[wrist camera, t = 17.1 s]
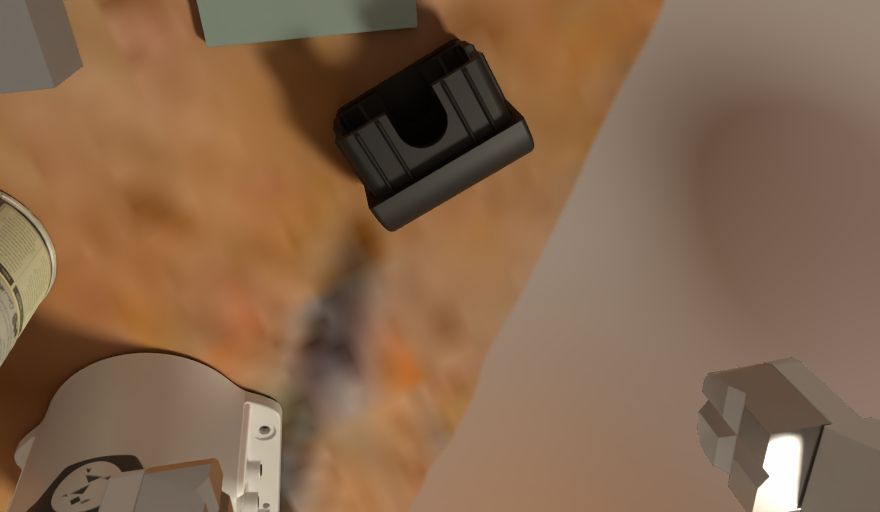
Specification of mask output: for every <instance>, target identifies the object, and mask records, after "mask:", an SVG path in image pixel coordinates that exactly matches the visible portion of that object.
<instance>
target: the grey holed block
mask: <svg viewBox="0 0 880 512" xmlns="http://www.w3.org/2000/svg"><path fill="white" fill-rule="evenodd" d="M81 67H83V64H82V61H81V58H80V55H79V52H78V48H77V45H76V42H75V39H74V36H73V33H72V29H71V26H70V23H69V20H68V17H67V13H66V10H65V7H64V4H63V1H62V0H0V94H2V93H12V92H22V91H32V90H41V89H51V88H55V87H57V86H58V85H59V84H61V83H62V82H63V81H64V80H66V79H67V78H68V77H70V76H71V75H72V74H73V73H75V72H76V71H77V70H79V69H80V68H81Z"/></svg>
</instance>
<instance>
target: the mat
mask: <svg viewBox="0 0 880 512" xmlns="http://www.w3.org/2000/svg"><path fill="white" fill-rule="evenodd" d="M197 5H198V9H199V14H200V18H201V23H202V27H203V31H204V36H205V40H206V45H207V47H216V46H226V45H237V44H247V43H257V42H267V41H278V40H288V39H298V38H309V37H319V36H329V35H339V34H350V33H360V32H370V31H381V30H391V29H401V28H412V27H418V21H417V8H416V0H197Z"/></svg>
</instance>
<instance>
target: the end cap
mask: <svg viewBox="0 0 880 512" xmlns="http://www.w3.org/2000/svg"><path fill="white" fill-rule="evenodd" d="M333 130H334V132H335V133H336V138H335V144H336V145H337V146H338V148H339V149H340V151H341V152H342V154H343V155H344V157H345V158H346V160H347V161H348V163H349V164H350V166H351V167H352V169H353V170H354V172H355V173H356V175H357V176H358V178H359V179H360V181H361V182H362V184H363V185H364V187H365V192H366V197H367V201H368V206H369V209H370V210H371V212H372V213H373V214H374V216H375V217H376V218H377V220H378V221H379V222H380V223H381V224H382V226H383V227H384V228H386V229H387V230H388V231H391V232H393V231H396V230H398V229H399V228H401V227H403V226H404V225H406V224H408V223H410V222H411V221H413V220H415V219H416V218H418V217H420V216H422V215H423V214H425V213H427V212H428V211H430V210H432V209H433V208H435V207H437V206H439V205H440V204H442V203H444V202H445V201H447V200H449V199H451V198H452V197H454V196H456V195H457V194H459V193H461V192H463V191H464V190H466V189H468V188H469V187H471V186H473V185H475V184H476V183H478V182H480V181H481V180H483V179H485V178H487V177H488V176H490V175H492V174H493V173H495V172H497V171H499V170H500V169H502V168H504V167H505V166H507V165H509V164H511V163H512V162H514V161H516V160H517V159H519V158H521V157H523V156H524V155H526V154H528V153H529V152H531V151H532V150H533V149H534V141H533V138H532V135H531V133H530V130H529V128H528V126H527V123H526V121H525V119H524V117H523V116H522V115H521V114H520V113H519V112H518V111H517V110H516V109H515V108H514V107H513V106H512V105H511V104H510V103H509V102H508V101H507V100H506V99H505V97H504V95H503V93H502V91H501V89H500V87H499V85H498V83H497V81H496V79H495V77H494V75H493V73H492V71H491V69H490V67H489V65H488V63H487V61H486V59H485V57H484V55H483V53H481V52H478V51H476V49H475V47H474V45H472V44H469V43H467V42H466V41H460V40H457V39H454V40H451V41H449V42H448V43H446V44H444V45H443V46H441V47H439V48H438V49H436V50H434V51H433V52H431V53H430V54H428V55H426V56H425V57H423V58H421V59H420V60H418V61H416V62H415V63H413V64H411V65H410V66H408V67H407V68H405V69H403V70H402V71H400V72H398V73H397V74H395V75H393V76H392V77H390V78H388V79H387V80H385V81H383V82H382V83H380V84H379V85H377V86H375V87H374V88H372V89H370V90H369V91H367V92H365V93H364V94H362V95H360V96H359V97H357V98H356V99H354V100H352V101H351V102H349V103H347V104H346V105H344V106H342V107H341V108H340V109H339V110H338V111H337V114H336V118H335V119H334V127H333Z"/></svg>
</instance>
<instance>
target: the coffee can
mask: <svg viewBox="0 0 880 512" xmlns="http://www.w3.org/2000/svg"><path fill="white" fill-rule="evenodd" d="M55 276H56V255H55V250H54V247H53V244H52V242H51V239H50V237H49V235H48V233H47V232H46V230H45V229H44V227H43V226H42V224H41V222H40V221H39V220H38V219H37V218H36V217H35V216H34V215H33V214H32V213H31V212H30V211H29V210H28V209H27V208H26V207H24V206H23V205H22V204H21V203H19V202H18V201H17V200H15V199H14V198H12V197H10V196H9V195H7V194H5V193H4V192H2V191H0V367H1V365H2V363H3V362H4V360H5V359H6V357H7V355H8V354H9V352H10V351H11V349H12V348H13V346H14V344H15V343H16V341H17V339H18V338H19V336H20V335H21V333H22V331H23V330H24V328H25V327H26V325H27V323H28V322H29V320H30V319H31V317H32V315H33V314H34V312H35V311H36V309H37V307H38V306H39V304H40V303H41V302H42V300H43V299H44V298H45V297H46V296H47V294H48V292H49V291H50V289H51V287H52V285H53V282H54V280H55Z"/></svg>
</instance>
